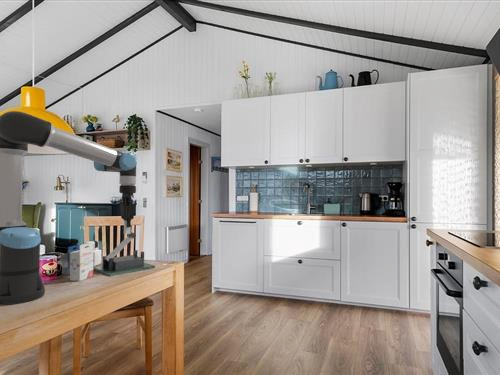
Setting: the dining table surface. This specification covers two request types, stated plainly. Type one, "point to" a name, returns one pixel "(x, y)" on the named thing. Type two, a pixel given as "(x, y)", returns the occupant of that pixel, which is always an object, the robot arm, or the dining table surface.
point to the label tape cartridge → (68, 259)
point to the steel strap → (120, 246)
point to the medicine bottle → (95, 253)
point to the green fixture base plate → (123, 264)
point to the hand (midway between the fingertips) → (127, 233)
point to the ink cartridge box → (81, 263)
